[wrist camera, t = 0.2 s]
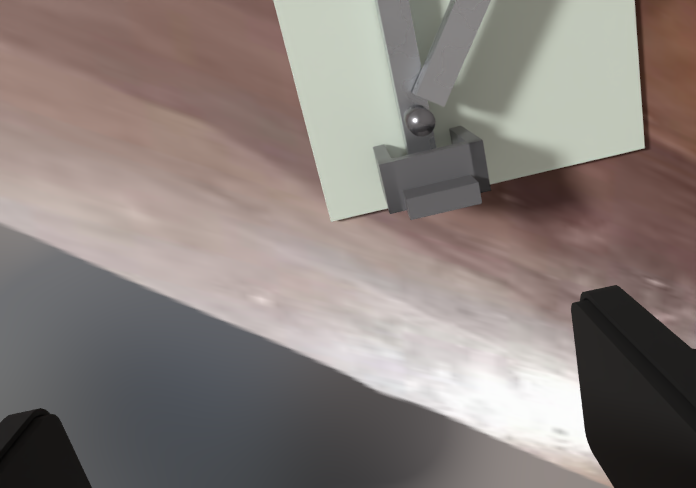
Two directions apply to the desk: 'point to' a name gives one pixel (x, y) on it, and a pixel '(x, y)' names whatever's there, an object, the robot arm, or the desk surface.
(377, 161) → the lock collar
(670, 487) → the robot arm
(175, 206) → the desk surface
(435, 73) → the jaw
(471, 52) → the mat
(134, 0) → the desk surface
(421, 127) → the base
